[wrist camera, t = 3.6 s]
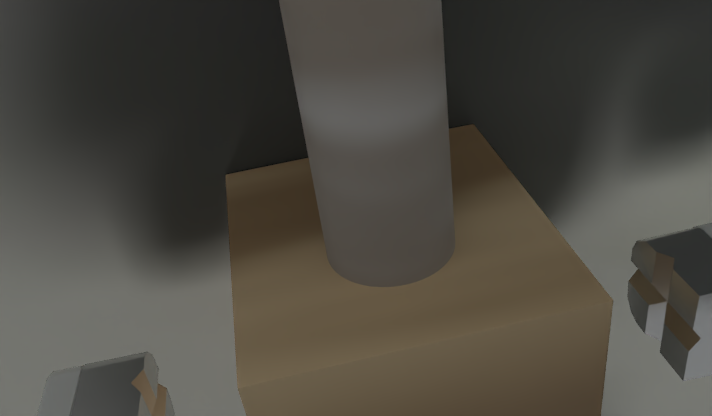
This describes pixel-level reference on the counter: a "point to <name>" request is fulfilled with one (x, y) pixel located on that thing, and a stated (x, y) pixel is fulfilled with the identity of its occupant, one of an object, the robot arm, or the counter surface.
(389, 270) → the brown block with rod
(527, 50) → the counter surface
